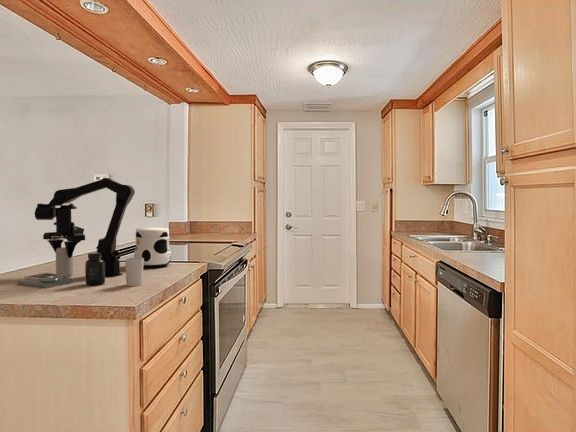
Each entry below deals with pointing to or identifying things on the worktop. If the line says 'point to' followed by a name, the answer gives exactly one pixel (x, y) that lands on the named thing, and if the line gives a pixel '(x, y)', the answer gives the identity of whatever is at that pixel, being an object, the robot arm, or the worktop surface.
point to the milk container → (153, 246)
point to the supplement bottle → (95, 269)
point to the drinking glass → (134, 271)
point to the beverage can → (63, 262)
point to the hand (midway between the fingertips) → (64, 257)
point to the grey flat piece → (46, 280)
